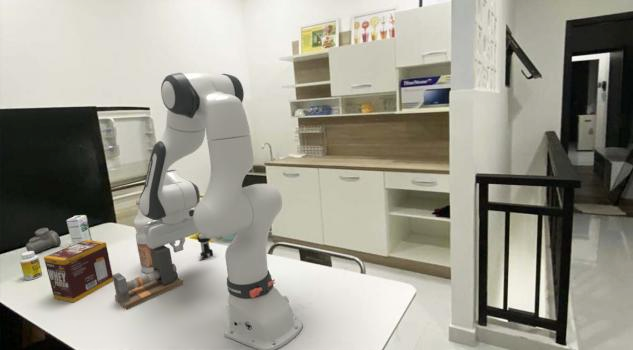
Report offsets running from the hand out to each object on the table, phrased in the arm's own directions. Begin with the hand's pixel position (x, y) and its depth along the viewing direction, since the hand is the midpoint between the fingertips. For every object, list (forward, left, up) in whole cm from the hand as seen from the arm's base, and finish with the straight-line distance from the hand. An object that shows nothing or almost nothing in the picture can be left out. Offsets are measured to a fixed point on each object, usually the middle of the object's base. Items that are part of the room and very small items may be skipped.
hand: (178, 250), depth 127 cm
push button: (+8, -14, -11) cm, 19 cm away
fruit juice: (+17, +3, -11) cm, 20 cm away
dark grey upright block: (0, +6, -8) cm, 11 cm away
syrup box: (+71, +14, -11) cm, 73 cm away
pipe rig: (0, +12, -10) cm, 16 cm away
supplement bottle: (+51, +36, -11) cm, 63 cm away
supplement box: (+22, +26, -11) cm, 36 cm away
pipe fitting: (+82, +27, -11) cm, 87 cm away
